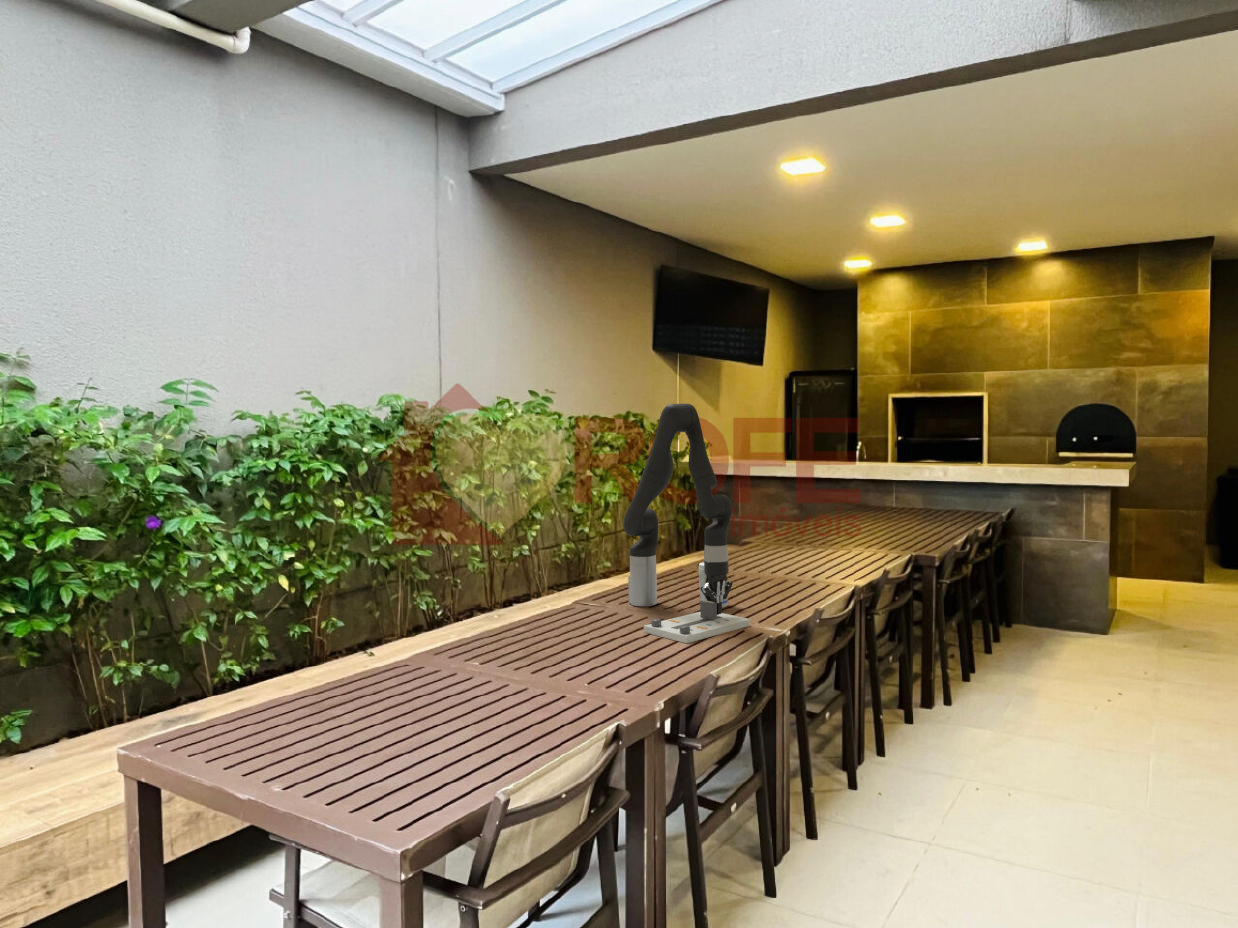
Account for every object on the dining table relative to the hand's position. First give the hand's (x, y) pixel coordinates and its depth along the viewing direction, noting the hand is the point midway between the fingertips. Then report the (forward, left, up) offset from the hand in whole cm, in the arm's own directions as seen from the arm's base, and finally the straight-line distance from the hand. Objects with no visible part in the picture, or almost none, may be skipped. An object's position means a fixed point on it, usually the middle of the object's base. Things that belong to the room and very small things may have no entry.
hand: (717, 613), depth 257 cm
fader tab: (0, -4, -1) cm, 4 cm away
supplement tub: (-17, +17, -3) cm, 24 cm away
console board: (0, -9, -3) cm, 9 cm away
